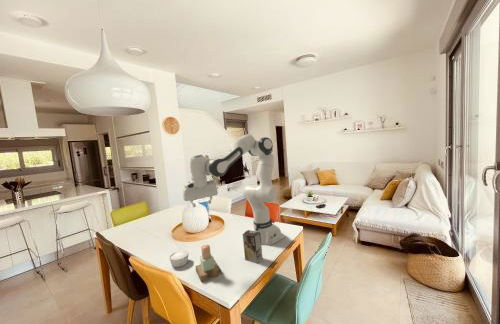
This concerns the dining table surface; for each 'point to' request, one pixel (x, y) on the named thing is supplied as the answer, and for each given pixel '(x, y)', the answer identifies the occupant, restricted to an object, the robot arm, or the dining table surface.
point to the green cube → (207, 263)
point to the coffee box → (252, 246)
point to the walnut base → (208, 272)
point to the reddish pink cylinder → (206, 252)
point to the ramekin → (179, 258)
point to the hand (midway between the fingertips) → (202, 205)
